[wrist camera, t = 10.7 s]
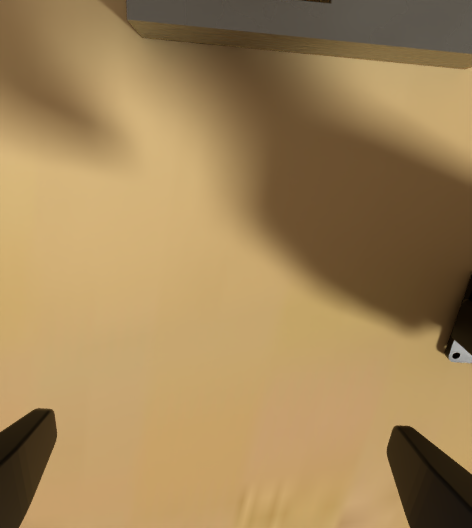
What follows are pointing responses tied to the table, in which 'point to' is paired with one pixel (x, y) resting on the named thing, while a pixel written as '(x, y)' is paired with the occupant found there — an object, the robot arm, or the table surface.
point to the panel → (318, 27)
